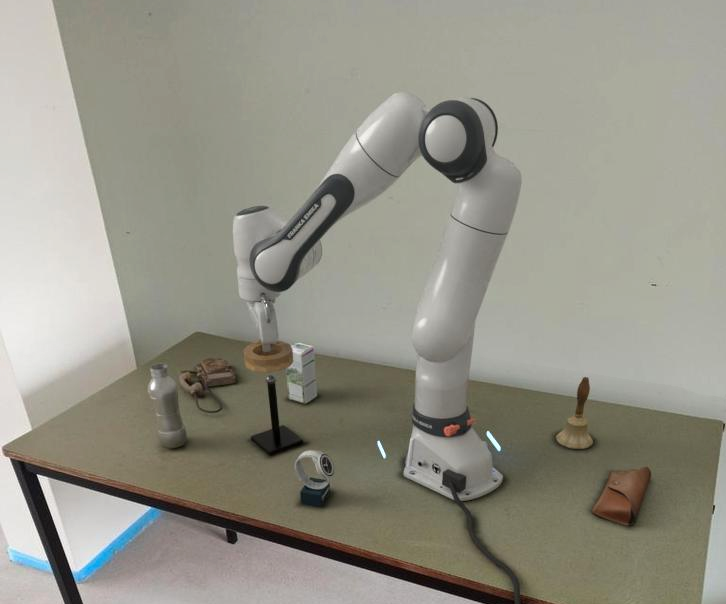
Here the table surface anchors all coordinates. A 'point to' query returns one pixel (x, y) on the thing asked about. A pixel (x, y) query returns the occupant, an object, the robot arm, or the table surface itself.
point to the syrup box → (302, 374)
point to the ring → (268, 357)
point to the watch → (314, 487)
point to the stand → (275, 428)
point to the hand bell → (577, 422)
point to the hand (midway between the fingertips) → (265, 347)
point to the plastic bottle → (166, 407)
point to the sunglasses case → (623, 496)
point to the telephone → (208, 378)
